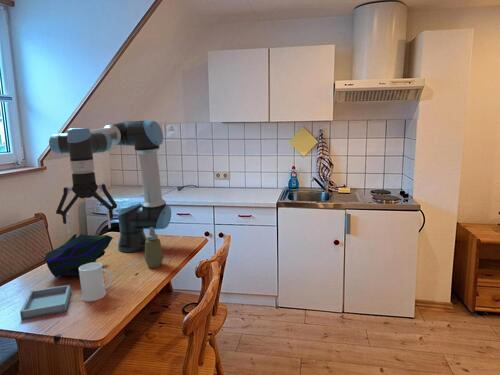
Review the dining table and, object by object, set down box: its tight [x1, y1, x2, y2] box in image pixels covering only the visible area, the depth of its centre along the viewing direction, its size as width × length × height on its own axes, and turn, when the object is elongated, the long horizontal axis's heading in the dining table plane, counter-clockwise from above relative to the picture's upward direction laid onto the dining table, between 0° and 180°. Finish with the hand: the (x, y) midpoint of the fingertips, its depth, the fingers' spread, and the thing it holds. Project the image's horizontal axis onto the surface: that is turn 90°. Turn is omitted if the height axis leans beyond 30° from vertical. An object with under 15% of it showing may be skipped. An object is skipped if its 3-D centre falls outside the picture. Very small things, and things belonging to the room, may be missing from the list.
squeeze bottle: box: [144, 227, 164, 269], centre depth 168 cm, size 8×8×18 cm
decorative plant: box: [44, 233, 114, 278], centre depth 160 cm, size 21×26×30 cm
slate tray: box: [19, 284, 72, 321], centre depth 136 cm, size 14×17×3 cm
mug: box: [79, 262, 113, 302], centre depth 140 cm, size 12×8×12 cm
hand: (89, 229), depth 136 cm, fingers open, 13 cm apart
